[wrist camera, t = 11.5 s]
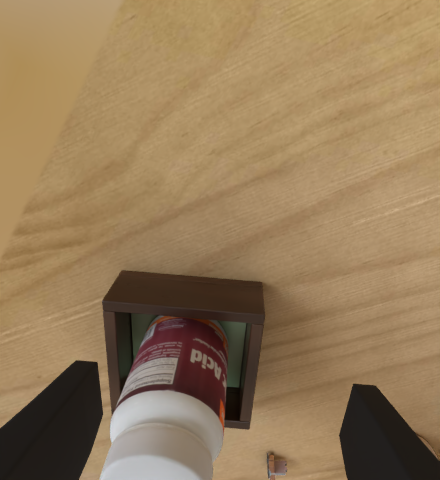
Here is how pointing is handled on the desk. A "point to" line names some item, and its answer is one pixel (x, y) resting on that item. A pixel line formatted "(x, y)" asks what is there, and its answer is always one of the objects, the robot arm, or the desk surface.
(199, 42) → the desk surface
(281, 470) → the figurine
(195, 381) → the pill bottle
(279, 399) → the desk surface
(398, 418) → the robot arm
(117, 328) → the dark brown square box
